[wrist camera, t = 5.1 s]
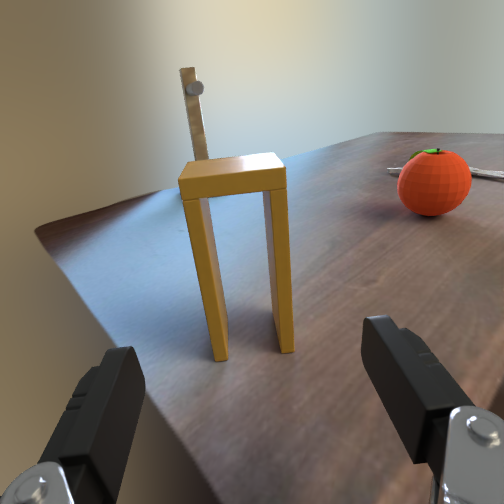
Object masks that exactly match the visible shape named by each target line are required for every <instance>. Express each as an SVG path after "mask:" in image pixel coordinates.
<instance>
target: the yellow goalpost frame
mask: <svg viewBox="0 0 504 504" xmlns="http://www.w3.org/2000/svg"><path fill="white" fill-rule="evenodd" d="M178 183H179V188H180V193H181V198H182V200H183V207H184V212H185V217H186V222H187V227H188V232H189V237H190V242H191V247H192V251H193V256H194V261H195V266H196V271H197V276H198V281H199V286H200V291H201V296H202V300H203V305H204V310H205V315H206V320H207V325H208V330H209V335H210V340H211V344H212V349H213V354H214V359H215V362H218V361H226V360H228V317H227V311H226V305H225V299H224V293H223V287H222V281H221V275H220V269H219V263H218V256H217V250H216V244H215V238H214V232H213V226H212V220H211V214H210V208H209V202H208V198H209V197H218V196H227V195H235V194H244V193H252V192H261V191H263V203H264V215H265V227H266V239H267V251H268V263H269V275H270V287H271V299H272V311H273V317H274V321H275V326H276V330H277V335H278V340H279V344H280V349H281V353H290V352H294V351H295V350H294V329H293V308H292V287H291V266H290V245H289V224H288V203H287V189H286V188H287V182H286V167H285V166H284V165H283V163H282V162H281V161H280V160H279V159H278V157H277V156H276V155H275V154H274V153H273V152H271V153H263V154H254V155H245V156H237V157H228V158H218V159H209V160H201V161H192V162H188V163H187V164H186V166H185V168H184V170H183V171H182V173H181V175H180V177H179V178H178Z"/></svg>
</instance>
